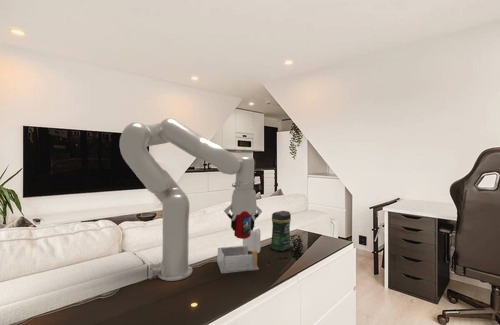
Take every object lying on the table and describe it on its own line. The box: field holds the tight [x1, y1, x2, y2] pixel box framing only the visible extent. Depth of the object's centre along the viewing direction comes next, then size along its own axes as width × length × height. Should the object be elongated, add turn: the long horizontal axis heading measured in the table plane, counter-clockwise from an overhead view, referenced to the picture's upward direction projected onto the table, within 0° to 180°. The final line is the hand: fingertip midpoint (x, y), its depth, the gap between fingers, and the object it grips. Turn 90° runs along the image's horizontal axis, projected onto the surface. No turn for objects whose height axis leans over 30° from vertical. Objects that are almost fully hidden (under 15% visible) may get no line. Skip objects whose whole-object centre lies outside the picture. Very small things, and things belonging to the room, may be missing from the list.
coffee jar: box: [270, 210, 292, 252], centre depth 127 cm, size 10×8×19 cm
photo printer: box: [242, 225, 261, 254], centre depth 125 cm, size 10×4×12 cm, turn 39°
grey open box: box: [216, 245, 260, 274], centre depth 107 cm, size 15×14×7 cm
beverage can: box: [233, 211, 251, 240], centre depth 107 cm, size 7×7×12 cm
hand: (242, 229), depth 107 cm, fingers closed on beverage can, 6 cm apart
